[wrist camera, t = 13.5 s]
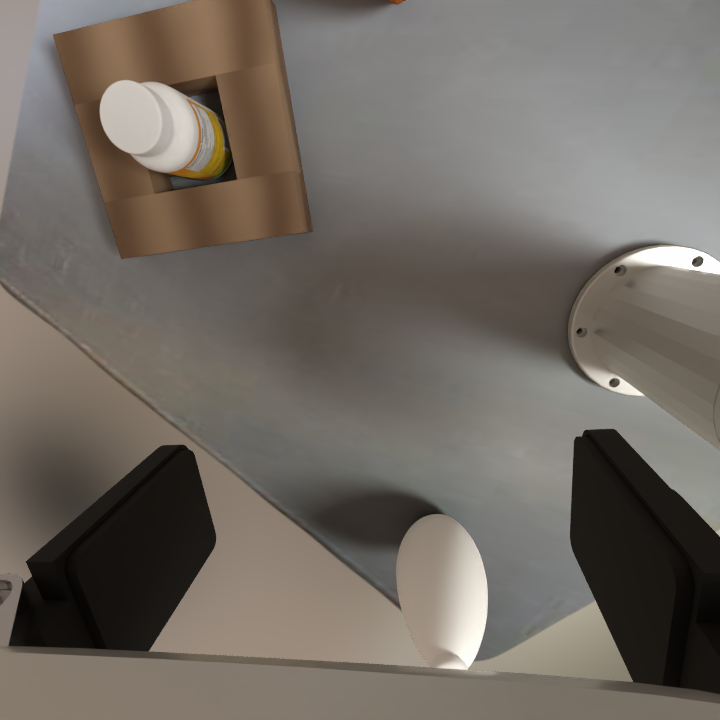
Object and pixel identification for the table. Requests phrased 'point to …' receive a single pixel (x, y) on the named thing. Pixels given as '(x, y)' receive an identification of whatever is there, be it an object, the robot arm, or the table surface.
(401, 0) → the carrot
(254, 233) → the bore block
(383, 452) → the table surface
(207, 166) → the supplement bottle
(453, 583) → the white air blower bulb
